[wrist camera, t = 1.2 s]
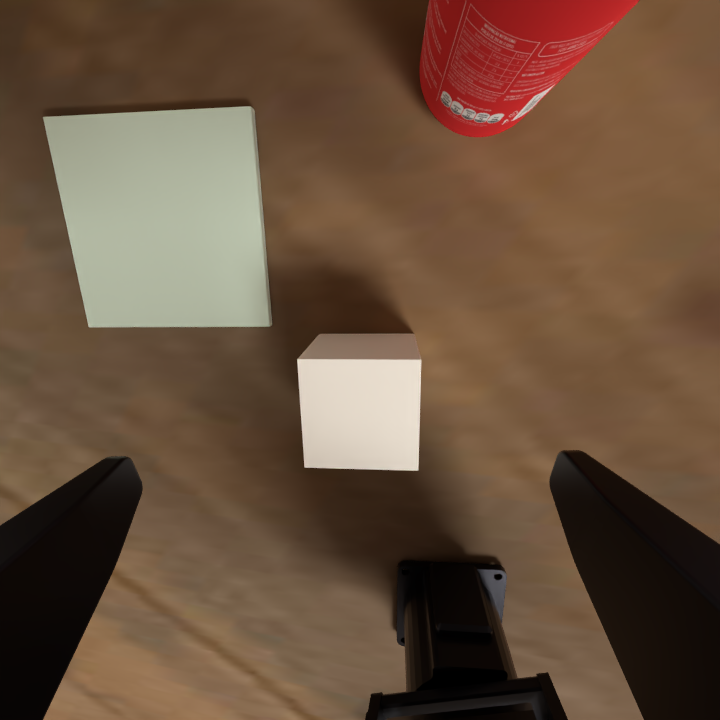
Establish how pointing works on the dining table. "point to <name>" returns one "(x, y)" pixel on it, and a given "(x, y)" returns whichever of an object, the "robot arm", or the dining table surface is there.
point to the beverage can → (504, 55)
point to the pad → (164, 216)
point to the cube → (360, 401)
